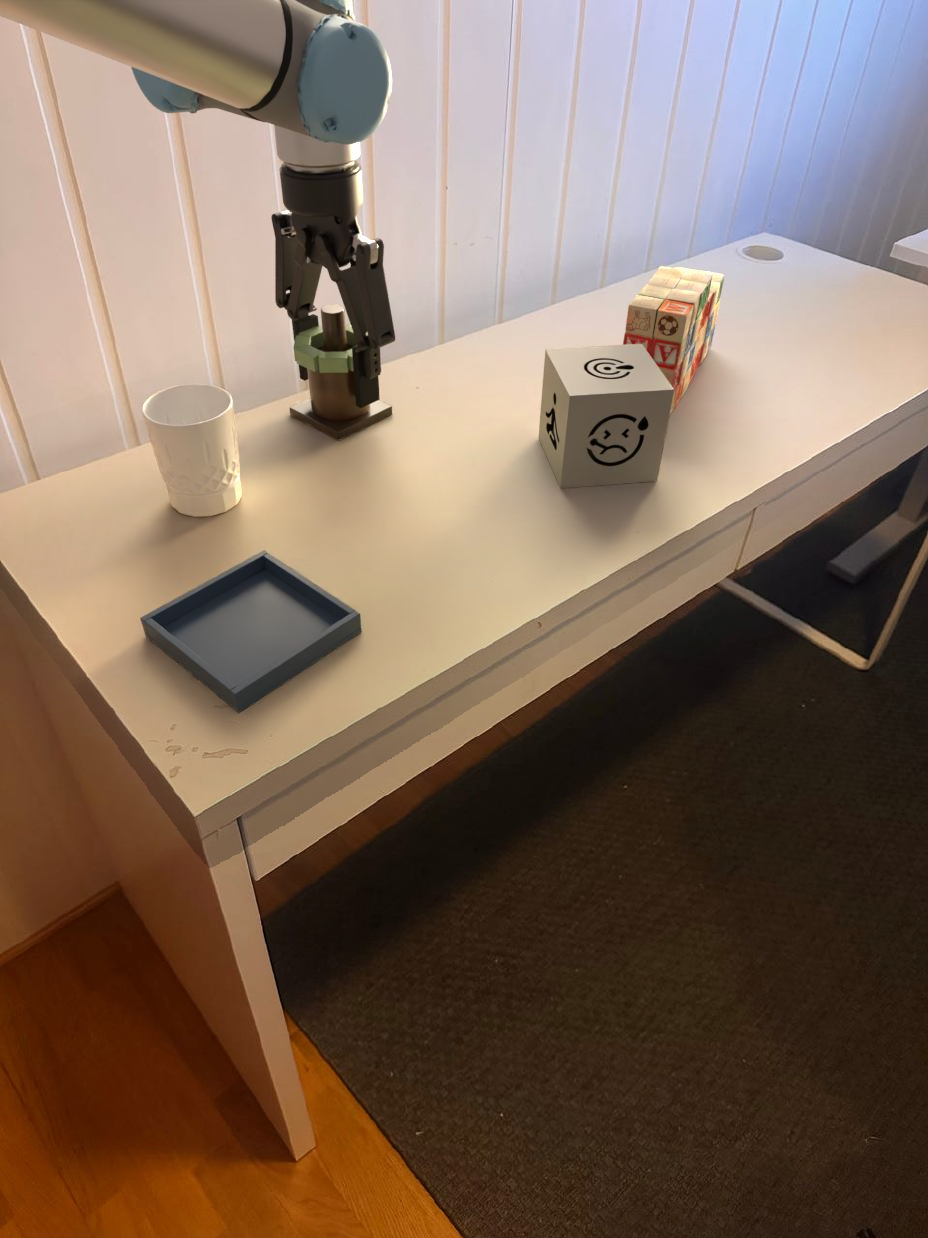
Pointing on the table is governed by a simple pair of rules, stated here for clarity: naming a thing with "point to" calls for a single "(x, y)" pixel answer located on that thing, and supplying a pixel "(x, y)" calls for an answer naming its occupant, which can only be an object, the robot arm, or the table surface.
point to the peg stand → (336, 388)
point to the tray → (251, 628)
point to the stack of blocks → (676, 322)
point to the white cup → (195, 447)
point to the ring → (321, 360)
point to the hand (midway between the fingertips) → (339, 388)
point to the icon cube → (603, 415)
